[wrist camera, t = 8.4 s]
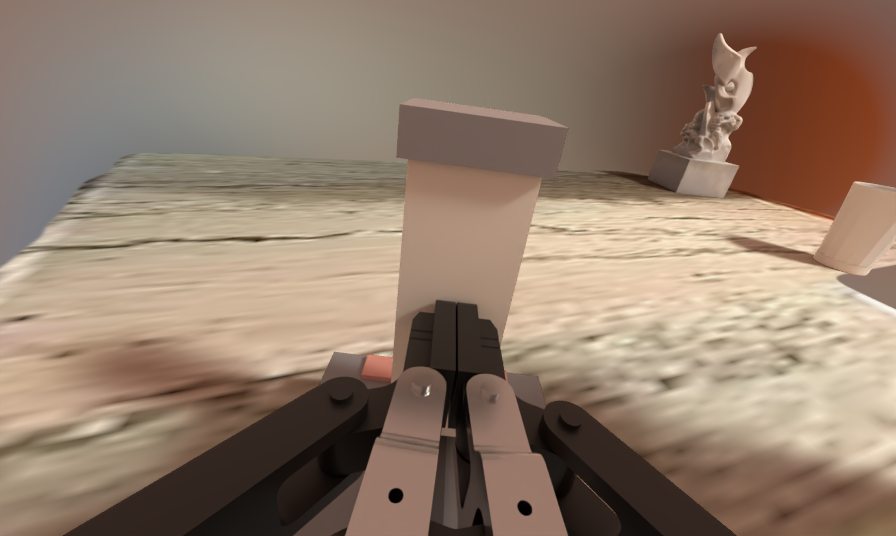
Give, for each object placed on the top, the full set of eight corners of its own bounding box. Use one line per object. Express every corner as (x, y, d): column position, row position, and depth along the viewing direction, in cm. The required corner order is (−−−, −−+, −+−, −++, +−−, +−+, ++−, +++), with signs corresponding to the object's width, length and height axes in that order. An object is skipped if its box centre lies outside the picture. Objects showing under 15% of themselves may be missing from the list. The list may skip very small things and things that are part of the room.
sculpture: (723, 198, 92) (804, 35, 76) (676, 192, 90) (747, 25, 74) (689, 184, 103) (753, 40, 87) (646, 179, 102) (703, 32, 86)
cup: (890, 280, 53) (953, 201, 48) (842, 275, 52) (901, 194, 47) (836, 256, 60) (885, 185, 55) (793, 251, 60) (839, 179, 54)
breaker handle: (480, 384, 19) (542, 116, 13) (484, 445, 16) (568, 128, 10) (393, 374, 19) (414, 98, 13) (379, 434, 16) (399, 103, 10)
